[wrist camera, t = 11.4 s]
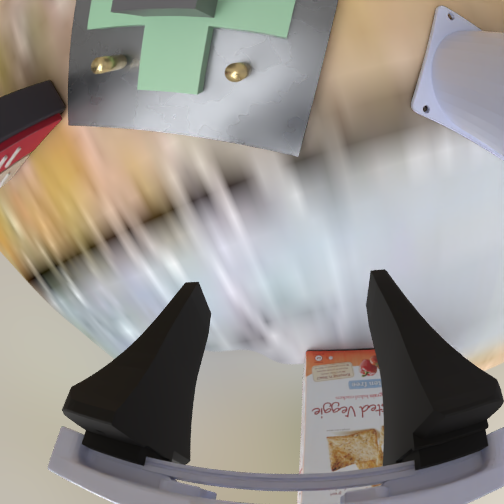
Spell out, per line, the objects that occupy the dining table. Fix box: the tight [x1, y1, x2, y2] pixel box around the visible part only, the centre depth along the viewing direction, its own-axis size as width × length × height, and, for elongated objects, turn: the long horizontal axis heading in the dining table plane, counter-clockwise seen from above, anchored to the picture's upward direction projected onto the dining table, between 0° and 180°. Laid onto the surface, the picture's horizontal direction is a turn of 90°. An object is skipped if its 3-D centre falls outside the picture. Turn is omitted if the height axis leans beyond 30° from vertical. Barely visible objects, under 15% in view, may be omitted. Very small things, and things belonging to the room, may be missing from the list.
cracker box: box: [297, 349, 384, 504], centre depth 23 cm, size 14×6×21 cm, turn 95°
